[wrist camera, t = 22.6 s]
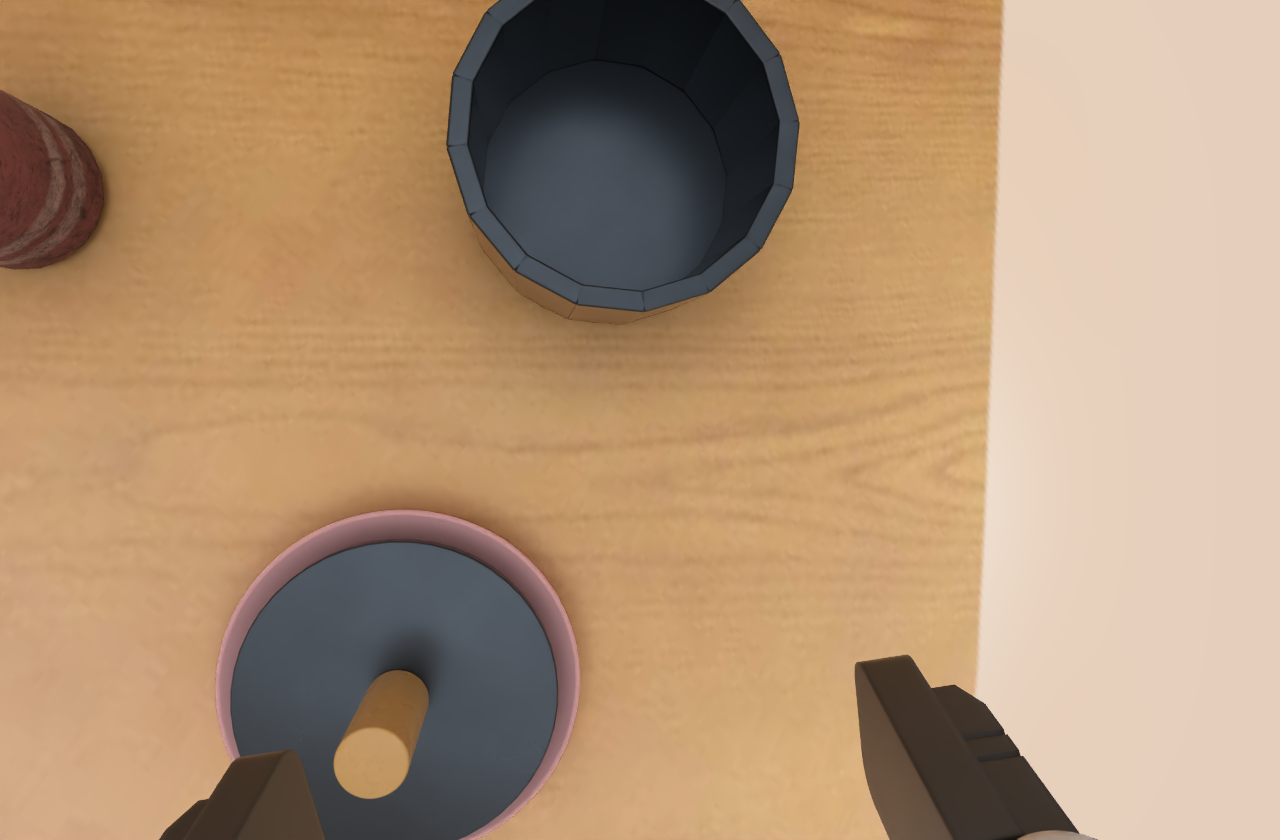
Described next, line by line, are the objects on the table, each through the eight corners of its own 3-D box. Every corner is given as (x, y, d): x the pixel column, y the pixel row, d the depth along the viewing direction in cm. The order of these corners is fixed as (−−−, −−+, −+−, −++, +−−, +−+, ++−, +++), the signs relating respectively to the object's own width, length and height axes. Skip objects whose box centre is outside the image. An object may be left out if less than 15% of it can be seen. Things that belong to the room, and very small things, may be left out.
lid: (504, 494, 35) (497, 524, 28) (595, 777, 36) (609, 870, 29) (195, 593, 34) (112, 648, 27) (299, 882, 35) (244, 1003, 28)
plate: (577, 824, 38) (580, 848, 36) (235, 843, 36) (218, 871, 34) (578, 500, 37) (580, 507, 35) (228, 504, 36) (209, 512, 34)
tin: (694, 18, 37) (742, -86, 28) (769, 279, 38) (837, 254, 29) (431, 89, 36) (400, 2, 27) (516, 356, 37) (511, 352, 28)
